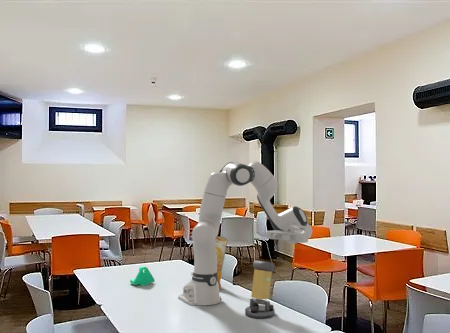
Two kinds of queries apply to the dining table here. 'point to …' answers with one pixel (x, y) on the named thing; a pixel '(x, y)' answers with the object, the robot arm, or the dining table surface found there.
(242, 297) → the dining table surface
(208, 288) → the robot arm
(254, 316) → the grey round mount base
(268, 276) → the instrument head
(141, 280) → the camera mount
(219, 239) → the pancake mix bag
